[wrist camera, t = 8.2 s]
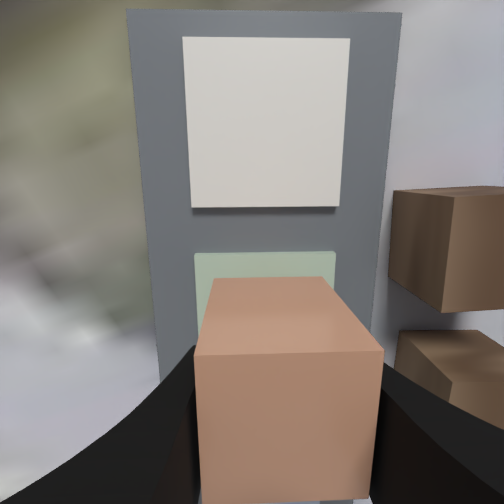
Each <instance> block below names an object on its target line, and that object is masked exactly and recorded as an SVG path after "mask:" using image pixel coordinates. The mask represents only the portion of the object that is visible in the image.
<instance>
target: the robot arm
mask: <svg viewBox="0 0 504 504" xmlns="http://www.w3.org/2000/svg"><path fill="white" fill-rule="evenodd" d="M195 349H196V345H193V346H192V347H191V348H190V349H189V350H188V352H187V353H186V354H185V355H184V357H183V358H182V359H181V360H180V361H179V363H178V364H177V365H176V366H175V367H174V369H173V370H172V371H171V372H170V373H169V374H168V375H167V376H166V378H165V379H164V380H163V381H162V382H161V383H160V384H159V385H158V386H157V387H156V388H155V389H154V390H153V391H152V392H151V393H150V394H149V395H148V396H147V397H146V398H145V399H144V400H143V401H142V402H141V403H140V404H139V405H138V406H137V407H136V408H135V409H134V410H133V411H132V412H131V413H130V414H129V415H128V416H126V417H125V418H124V419H123V420H122V421H120V422H119V423H118V424H117V425H116V426H114V427H113V428H112V429H111V430H109V431H108V432H107V433H106V434H104V435H103V436H101V437H100V438H99V439H97V440H96V441H95V442H93V443H92V444H90V445H89V446H88V447H86V448H85V449H84V450H82V451H81V452H79V453H78V454H77V455H75V456H74V457H73V458H71V459H70V460H68V461H67V462H65V463H64V464H62V465H61V466H59V467H58V468H56V469H55V470H53V471H51V472H50V473H48V474H47V475H45V476H44V477H42V478H40V479H39V480H37V481H36V482H34V483H32V484H31V485H29V486H27V487H26V488H24V489H23V490H21V491H19V492H17V493H16V494H14V495H12V496H11V497H9V498H7V499H6V500H4V501H2V502H0V504H198V500H199V495H200V490H201V475H200V457H199V440H198V422H197V404H196V387H195V369H194V353H195ZM369 496H370V498H371V500H372V503H373V504H504V430H503V429H501V428H498V427H496V426H494V425H492V424H490V423H488V422H486V421H484V420H482V419H480V418H477V417H476V416H474V415H472V414H470V413H468V412H466V411H464V410H462V409H460V408H458V407H456V406H454V405H452V404H450V403H449V402H447V401H445V400H443V399H441V398H440V397H438V396H436V395H435V394H433V393H431V392H430V391H428V390H426V389H425V388H423V387H421V386H419V385H418V384H416V383H415V382H413V381H411V380H410V379H408V378H407V377H405V376H404V375H402V374H401V373H399V372H397V371H396V370H394V369H393V368H391V367H390V366H388V365H387V364H386V363H384V362H383V371H382V380H381V389H380V398H379V407H378V416H377V425H376V435H375V444H374V453H373V462H372V471H371V480H370V489H369Z"/></svg>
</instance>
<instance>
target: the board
mask: <svg viewBox="0 0 504 504" xmlns="http://www.w3.org/2000/svg"><path fill="white" fill-rule="evenodd" d="M126 14H127V25H128V36H129V47H130V58H131V69H132V80H133V91H134V101H135V112H136V123H137V134H138V145H139V156H140V167H141V178H142V188H143V199H144V210H145V221H146V232H147V243H148V254H149V265H150V275H151V286H152V297H153V308H154V319H155V330H156V341H157V352H158V362H159V373H160V383H161V382H162V381H163V380H164V379H165V378H166V376H167V375H168V374H169V373H170V372H171V371H172V370H173V369H174V367H175V366H176V365H177V364H178V363H179V361H180V360H181V359H182V358H183V357H184V355H185V354H186V353H187V352H188V350H189V349H190V348H191V347H192V346H193V345H197V341H198V337H199V334H200V330H201V326H202V322H203V318H204V314H205V310H206V307H207V303H208V299H209V295H210V291H211V287H212V283H213V280H214V278H251V277H309V276H322V277H323V278H324V279H325V280H326V281H327V283H328V284H329V285H330V286H331V287H332V289H333V290H334V291H335V292H336V293H337V295H338V296H339V297H340V298H341V299H342V300H343V302H344V303H345V304H346V305H347V306H348V308H349V309H350V310H351V311H352V312H353V314H354V315H355V316H356V317H357V318H358V319H359V321H360V322H361V323H362V324H363V325H364V327H365V328H366V329H367V330H368V331H369V333H370V327H371V317H372V307H373V297H374V287H375V277H376V268H377V258H378V248H379V238H380V228H381V218H382V208H383V198H384V188H385V179H386V169H387V159H388V149H389V139H390V129H391V119H392V109H393V99H394V90H395V80H396V70H397V60H398V50H399V40H400V30H401V20H402V13H392V12H321V11H251V10H180V9H126ZM198 504H202V493H201V490H200V495H199V500H198ZM259 504H353V499H348V500H326V501H303V502H281V503H259Z"/></svg>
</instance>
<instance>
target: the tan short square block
mask: <svg viewBox="0 0 504 504" xmlns="http://www.w3.org/2000/svg"><path fill="white" fill-rule="evenodd" d="M384 353H385V350H384V349H383V348H382V347H381V346H380V344H379V343H378V342H377V341H376V340H375V338H374V337H373V336H372V335H371V334H370V333H369V331H368V330H367V329H366V328H365V327H364V325H363V324H362V323H361V322H360V321H359V319H358V318H357V317H356V316H355V315H354V314H353V312H352V311H351V310H350V309H349V308H348V306H347V305H346V304H345V303H344V302H343V300H342V299H341V298H340V297H339V296H338V295H337V293H336V292H335V291H334V290H333V289H332V287H331V286H330V285H329V284H328V283H327V281H326V280H325V279H324V278H323V277H322V276H309V277H251V278H214V280H213V283H212V287H211V291H210V295H209V299H208V303H207V307H206V310H205V314H204V318H203V322H202V326H201V330H200V334H199V337H198V341H197V345H196V349H195V353H194V369H195V387H196V404H197V422H198V440H199V457H200V475H201V493H202V504H259V503H281V502H303V501H326V500H348V499H368V498H369V489H370V480H371V471H372V462H373V453H374V444H375V435H376V425H377V416H378V407H379V398H380V389H381V380H382V371H383V362H384Z"/></svg>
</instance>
